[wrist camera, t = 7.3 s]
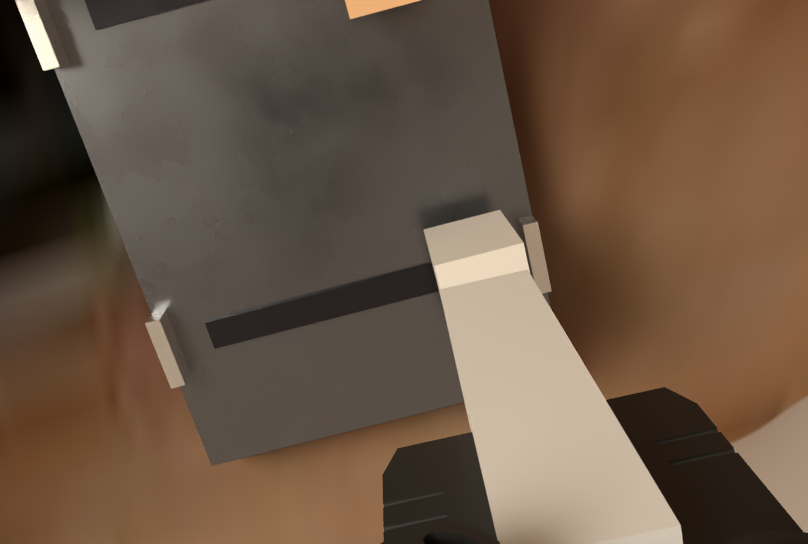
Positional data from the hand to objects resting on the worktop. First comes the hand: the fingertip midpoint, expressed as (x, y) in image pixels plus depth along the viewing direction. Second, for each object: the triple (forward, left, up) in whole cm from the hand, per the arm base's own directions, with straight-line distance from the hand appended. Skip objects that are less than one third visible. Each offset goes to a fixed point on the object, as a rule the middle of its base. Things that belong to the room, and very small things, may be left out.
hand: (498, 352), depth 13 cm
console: (-4, +2, -20) cm, 20 cm away
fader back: (+1, -5, -18) cm, 18 cm away
